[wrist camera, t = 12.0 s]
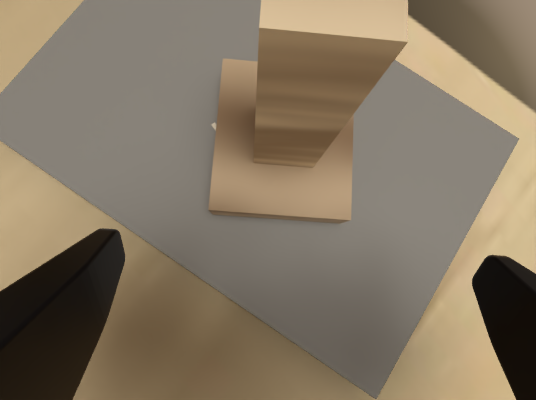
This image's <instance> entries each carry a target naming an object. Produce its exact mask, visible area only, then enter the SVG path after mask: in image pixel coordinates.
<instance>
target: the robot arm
mask: <svg viewBox="0 0 536 400" xmlns="http://www.w3.org/2000/svg"><path fill="white" fill-rule="evenodd" d="M124 262H125V253H124V248H123V244H122V240H121V235H120V233H119V231H118V230H116V229H98V230H96V231H95V232H93V233H92V234H90V235H88V236H87V237H85V238H84V239H82V240H80V241H79V242H77V243H76V244H74V245H73V246H71V247H69V248H68V249H66V250H65V251H63V252H62V253H60V254H58V255H57V256H55V257H54V258H52V259H50V260H49V261H47V262H46V263H44V264H43V265H41V266H39V267H38V268H36V269H35V270H33V271H31V272H30V273H28V274H27V275H25V276H24V277H22V278H20V279H19V280H17V281H16V282H14V283H13V284H11V285H9V286H8V287H6V288H5V289H3V290H1V291H0V400H73V397H74V395H75V393H76V390H77V388H78V386H79V384H80V381H81V379H82V377H83V374H84V372H85V370H86V368H87V365H88V363H89V361H90V358H91V356H92V354H93V352H94V349H95V347H96V345H97V342H98V340H99V338H100V336H101V333H102V331H103V328H104V326H105V323H106V321H107V318H108V315H109V312H110V308H111V305H112V302H113V299H114V295H115V292H116V289H117V286H118V282H119V279H120V276H121V273H122V270H123V266H124ZM472 286H473V289H474V292H475V295H476V298H477V301H478V305H479V308H480V311H481V314H482V317H483V320H484V323H485V326H486V329H487V332H488V335H489V337H490V340H491V343H492V346H493V348H494V350H495V353H496V355H497V357H498V360H499V362H500V364H501V366H502V369H503V371H504V373H505V375H506V378H507V380H508V382H509V384H510V387H511V389H512V391H513V393H514V396H515V398H516V400H536V274H535V273H533V272H532V271H530V270H529V269H527V268H525V267H524V266H522V265H521V264H519V263H517V262H516V261H514V260H513V259H511V258H509V257H507V256H498V255H490V256H488V257H486V258H485V259H484V261H483V262H482V264H481V265H480V267H479V269H478V270H477V272H476V273H475V275H474V276H473V279H472Z"/></svg>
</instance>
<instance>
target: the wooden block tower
mask: <svg viewBox="0 0 536 400" xmlns="http://www.w3.org/2000/svg"><path fill="white" fill-rule="evenodd" d="M407 42H408V0H261V9H260V22H259V42H258V62H257V61H246V60H235V59H224V58H223V62H222V72H221V83H220V93H219V104H218V114H217V125H216V135H215V146H214V156H213V167H212V177H211V188H210V198H209V209H208V210H209V211H210V212H211V213H212V214H213V215H225V216H239V217H253V218H267V219H281V220H295V221H309V222H323V223H337V224H341V223H344V222H347V221H350V220H351V204H352V164H353V124H354V113H355V112H356V110H357V109H358V108H359V106H360V105H361V104H362V102H363V101H364V100H365V98H366V97H367V96H368V94H369V93H370V92H371V90H372V89H373V88H374V86H375V85H376V84H377V82H378V81H379V80H380V78H381V77H382V76H383V74H384V73H385V72H386V70H387V69H388V68H389V66H390V65H391V64H392V62H393V61H394V60H395V58H396V57H397V56H398V54H399V53H400V52H401V50H402V49H403V48H404V46H405V45H406V44H407Z"/></svg>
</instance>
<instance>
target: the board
mask: <svg viewBox="0 0 536 400" xmlns="http://www.w3.org/2000/svg"><path fill="white" fill-rule="evenodd" d="M260 9H261V0H84V1H83V2H82V3H81V4H80V5H79V7H78V8H77V9H76V10H75V11H74V12H73V13H72V14H71V16H70V17H69V18H68V19H67V20H66V21H65V22H64V23H63V24H62V26H61V27H60V28H59V29H58V30H57V31H56V32H55V33H54V34H53V36H52V37H51V38H50V39H49V40H48V41H47V42H46V43H45V44H44V46H43V47H42V48H41V49H40V50H39V51H38V52H37V53H36V55H35V56H34V57H33V58H32V59H31V60H30V61H29V62H28V63H27V65H26V66H25V67H24V68H23V69H22V70H21V71H20V72H19V73H18V75H17V76H16V77H15V78H14V79H13V80H12V81H11V82H10V83H9V85H8V86H7V87H6V88H5V89H4V90H3V91H2V92H1V94H0V141H1V142H3V143H4V144H6V145H7V146H9V147H10V148H12V149H13V150H15V151H16V152H17V153H19V154H20V155H22V156H23V157H25V158H26V159H28V160H29V161H31V162H32V163H33V164H35V165H36V166H38V167H39V168H41V169H42V170H44V171H45V172H46V173H48V174H49V175H51V176H52V177H54V178H55V179H57V180H58V181H60V182H61V183H62V184H64V185H65V186H67V187H68V188H70V189H71V190H73V191H74V192H76V193H77V194H78V195H80V196H81V197H83V198H84V199H86V200H87V201H89V202H90V203H91V204H93V205H94V206H96V207H97V208H99V209H100V210H102V211H103V212H105V213H106V214H107V215H109V216H110V217H112V218H113V219H115V220H116V221H118V222H119V223H121V224H122V225H123V226H125V227H126V228H128V229H129V230H131V231H132V232H134V233H135V234H136V235H138V236H139V237H141V238H142V239H144V240H145V241H147V242H148V243H150V244H151V245H152V246H154V247H155V248H157V249H158V250H160V251H161V252H163V253H164V254H166V255H167V256H168V257H170V258H171V259H173V260H174V261H176V262H177V263H179V264H180V265H181V266H183V267H184V268H186V269H187V270H189V271H190V272H192V273H193V274H195V275H196V276H197V277H199V278H200V279H202V280H203V281H205V282H206V283H208V284H209V285H211V286H212V287H213V288H215V289H216V290H218V291H219V292H221V293H222V294H224V295H225V296H226V297H228V298H229V299H231V300H232V301H234V302H235V303H237V304H238V305H240V306H241V307H242V308H244V309H245V310H247V311H248V312H250V313H251V314H253V315H254V316H256V317H257V318H258V319H260V320H261V321H263V322H264V323H266V324H267V325H269V326H270V327H271V328H273V329H274V330H276V331H277V332H279V333H280V334H282V335H283V336H285V337H286V338H287V339H289V340H290V341H292V342H293V343H295V344H296V345H298V346H299V347H301V348H302V349H303V350H305V351H306V352H308V353H309V354H311V355H312V356H314V357H315V358H316V359H318V360H319V361H321V362H322V363H324V364H325V365H327V366H328V367H330V368H331V369H332V370H334V371H335V372H337V373H338V374H340V375H341V376H343V377H344V378H346V379H347V380H348V381H350V382H351V383H353V384H354V385H356V386H357V387H359V388H360V389H361V390H363V391H364V392H366V393H367V394H369V395H370V396H372V397H373V398H375V399H377V397H378V395H379V393H380V392H381V390H382V388H383V386H384V384H385V382H386V381H387V379H388V377H389V375H390V373H391V372H392V370H393V368H394V366H395V364H396V362H397V361H398V359H399V357H400V355H401V353H402V351H403V350H404V348H405V346H406V344H407V342H408V341H409V339H410V337H411V335H412V333H413V331H414V330H415V328H416V326H417V324H418V322H419V320H420V319H421V317H422V315H423V313H424V311H425V310H426V308H427V306H428V304H429V302H430V300H431V299H432V297H433V295H434V293H435V291H436V290H437V288H438V286H439V284H440V282H441V280H442V279H443V277H444V275H445V273H446V271H447V269H448V268H449V266H450V264H451V262H452V260H453V259H454V257H455V255H456V253H457V251H458V249H459V248H460V246H461V244H462V242H463V240H464V238H465V237H466V235H467V233H468V231H469V229H470V228H471V226H472V224H473V222H474V220H475V218H476V217H477V215H478V213H479V211H480V209H481V208H482V206H483V204H484V202H485V200H486V198H487V197H488V195H489V193H490V191H491V189H492V187H493V186H494V184H495V182H496V180H497V178H498V177H499V175H500V173H501V171H502V169H503V167H504V166H505V164H506V162H507V160H508V158H509V157H510V155H511V153H512V151H513V149H514V147H515V146H516V144H517V142H518V140H519V138H517V137H515V136H514V135H512V134H511V133H509V132H508V131H506V130H504V129H503V128H501V127H500V126H498V125H497V124H495V123H493V122H492V121H490V120H489V119H487V118H486V117H484V116H482V115H481V114H479V113H478V112H476V111H475V110H473V109H471V108H470V107H468V106H467V105H465V104H464V103H462V102H460V101H459V100H457V99H456V98H454V97H453V96H451V95H449V94H448V93H446V92H445V91H443V90H442V89H440V88H438V87H437V86H435V85H434V84H432V83H430V82H429V81H427V80H426V79H424V78H423V77H421V76H419V75H418V74H416V73H415V72H413V71H412V70H410V69H408V68H407V67H405V66H404V65H402V64H401V63H399V62H397V61H396V60H394V61H393V62H392V64H391V65H390V66H389V68H388V69H387V70H386V72H385V73H384V74H383V76H382V77H381V78H380V80H379V81H378V82H377V84H376V85H375V86H374V88H373V89H372V90H371V92H370V93H369V94H368V96H367V97H366V98H365V100H364V101H363V102H362V104H361V105H360V106H359V108H358V109H357V110H356V112H355V113H354V124H353V164H352V204H351V220H350V221H347V222H344V223H341V224H337V223H323V222H309V221H295V220H281V219H267V218H253V217H239V216H225V215H213V214H212V213H211V212H210V211H209V210H208V209H209V198H210V188H211V177H212V167H213V156H214V146H215V135H216V125H217V114H218V104H219V93H220V83H221V72H222V62H223V58H224V59H235V60H246V61H257V62H258V42H259V22H260Z"/></svg>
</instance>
